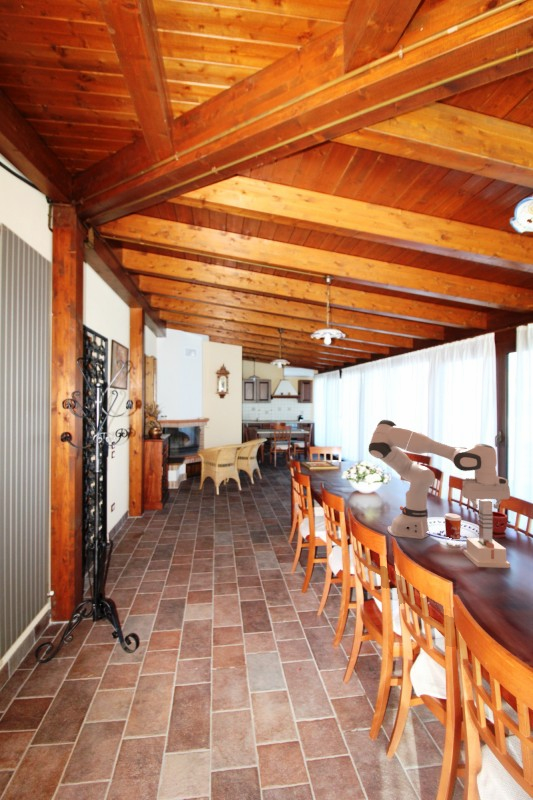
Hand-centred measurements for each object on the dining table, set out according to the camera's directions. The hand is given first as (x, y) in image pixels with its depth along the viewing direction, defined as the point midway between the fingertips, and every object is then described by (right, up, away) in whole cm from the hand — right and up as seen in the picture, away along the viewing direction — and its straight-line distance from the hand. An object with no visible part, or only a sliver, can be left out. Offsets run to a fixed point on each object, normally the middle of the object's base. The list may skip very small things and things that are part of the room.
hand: (485, 508), depth 171 cm
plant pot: (+24, -25, +32) cm, 47 cm away
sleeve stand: (0, -25, 0) cm, 25 cm away
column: (0, -19, 0) cm, 19 cm away
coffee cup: (-5, -25, +20) cm, 32 cm away
